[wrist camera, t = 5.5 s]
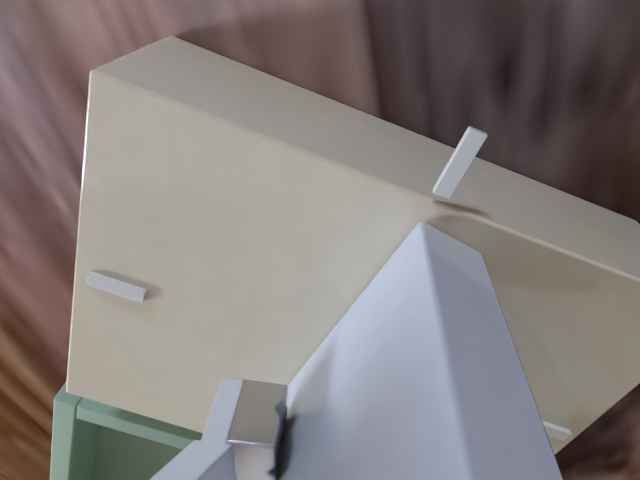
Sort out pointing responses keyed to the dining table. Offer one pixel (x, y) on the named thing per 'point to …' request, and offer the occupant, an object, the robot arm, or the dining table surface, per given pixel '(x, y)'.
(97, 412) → the basin
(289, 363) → the block
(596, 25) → the dining table surface
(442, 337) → the spout
